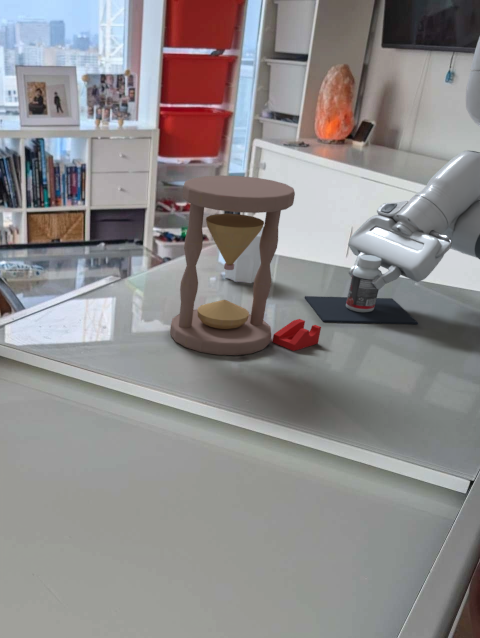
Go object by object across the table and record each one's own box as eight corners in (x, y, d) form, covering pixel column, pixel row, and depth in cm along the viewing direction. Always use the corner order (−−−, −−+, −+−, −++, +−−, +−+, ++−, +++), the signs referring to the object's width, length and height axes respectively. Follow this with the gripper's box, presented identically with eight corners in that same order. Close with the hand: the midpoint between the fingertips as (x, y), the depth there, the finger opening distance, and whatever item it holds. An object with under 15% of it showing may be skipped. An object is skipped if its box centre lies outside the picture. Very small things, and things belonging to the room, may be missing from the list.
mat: (391, 300, 154) (392, 298, 154) (417, 324, 143) (418, 322, 142) (304, 298, 154) (304, 296, 153) (323, 322, 142) (323, 320, 142)
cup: (276, 280, 163) (284, 233, 157) (241, 286, 158) (248, 238, 153) (245, 268, 170) (252, 222, 164) (211, 274, 165) (216, 227, 160)
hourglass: (261, 321, 141) (284, 177, 127) (278, 358, 127) (306, 199, 113) (166, 317, 141) (179, 173, 127) (172, 353, 126) (187, 195, 113)
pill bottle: (342, 303, 150) (353, 253, 145) (370, 304, 150) (382, 254, 145) (347, 312, 146) (359, 260, 140) (376, 314, 146) (388, 262, 140)
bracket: (296, 335, 136) (299, 318, 134) (317, 343, 133) (321, 326, 131) (272, 342, 132) (275, 325, 131) (293, 351, 129) (296, 334, 128)
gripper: (463, 251, 136) (405, 309, 139) (389, 224, 152) (338, 276, 155) (451, 227, 133) (392, 286, 135) (376, 201, 148) (324, 255, 151)
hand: (362, 281), depth 145 cm, fingers closed on pill bottle, 5 cm apart
